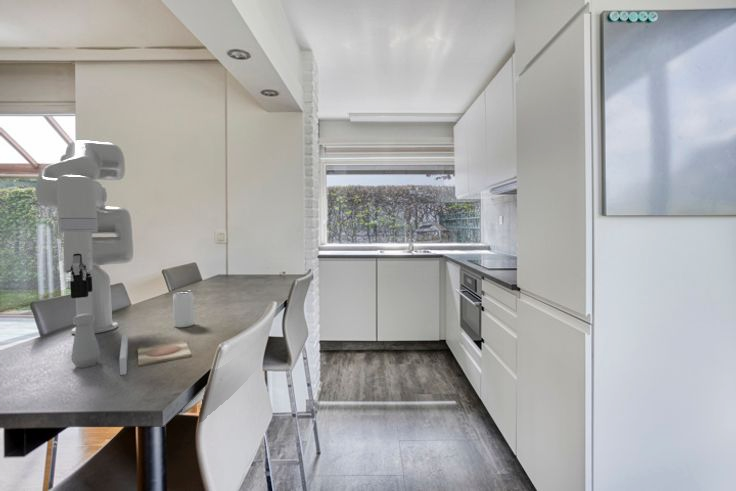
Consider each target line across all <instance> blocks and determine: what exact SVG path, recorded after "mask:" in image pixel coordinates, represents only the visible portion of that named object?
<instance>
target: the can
mask: <svg viewBox="0 0 736 491" xmlns="http://www.w3.org/2000/svg"><path fill="white" fill-rule="evenodd" d="M194 301H195V299H194V294H193V290H190V289H189V290H186V289H185V290H178V291H177V290H176V291H174V292H173V296H172V308H173V309H172V310H173V311H172V312H173V313H172V314H173V326H174V327H175V328H178V329H179V328H180V329H181V328H189V327H192V326H194V324H195V322H196V321H195V303H194Z"/></svg>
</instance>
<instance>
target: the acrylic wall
mask: <svg viewBox="0 0 736 491" xmlns="http://www.w3.org/2000/svg"><path fill="white" fill-rule="evenodd" d="M128 342H129V341H128V334H122V335H121V342H120V352H119V359H118V360H119V374H120V376H122V375H127V370H128V352H129V345H128V344H129V343H128Z"/></svg>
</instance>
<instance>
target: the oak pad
mask: <svg viewBox="0 0 736 491" xmlns="http://www.w3.org/2000/svg"><path fill="white" fill-rule="evenodd" d="M189 357H192V352H191V350H190V348H189V346H188V344H187V342H186V340H185V339H184V340H178V341H173V342H168V343H162V344H155V345H150V346H143V347H138V348H137V365H138V366H137V367H141V366H147V365H152V364H158V363H163V362H168V361H173V360H178V359H183V358H189Z"/></svg>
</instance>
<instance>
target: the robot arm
mask: <svg viewBox="0 0 736 491" xmlns="http://www.w3.org/2000/svg"><path fill="white" fill-rule="evenodd" d="M125 169H126V168H125V156H124V153H123V151H122V149H121V148H120V147H119V146H118V145H117V144H115V143H111V142H101V141H91V140H75V141H72V142H70V143H69V144H68V146H66V149H65V153H64V154H63V155H62V156H61V157H60V161H58V162H55V163H53V164H49V165H47V166H45V167H43V168H42V169H41V170H40V171H39V174H38V177H37V179H36V182H35V183H36V184H35V197H36V199H37V200H36V201H37V202H38V203H39V204H40V205H41V206H44V207H46V208H51V209H52V208H53V209H54V208H57V222H58V224H57V226H58V233H63V273H65V274H69V273H70V281H69V285H70V286H69V288H70V298H71V299H75V310H76V311H75V312H76V315H79V314H84V313H91V314H93V315H94V317H95V320H94V322H93V323H92V327H93V330H94V334H100V333H101V334H102V333H105V332H109V331H112V330H115V329H116V328H118V327H119V323H118V321H117V322H116V321H113V315H112V314H113V310H112V295H111V294H112V292H111V278H110V276H109V274H108V273H107V272H106V271H105V270H104V269H102V268H101V267H100V266H107V265H108V266H109V265H122V264H128V263H130V262H131V261H132V260H133V257H134V242H133V229H132V218H131V215H130V212H129V211H128V210H127V209H126V208H125V207H121V206H120V207H119V206H105V204H106V202H107V199H108V198H107V197H108V195H107V194H108V193H107V190H106V187H104V186H103V184H102V183H100V182H99V181H97V180H103V181H120V180H122V179H123V178H124V176H125V173H126V170H125ZM93 235H116V236H93ZM75 331H76V326H75V327H73V328H72V329H71V331H70V332H71V334H72V335H75Z"/></svg>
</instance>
